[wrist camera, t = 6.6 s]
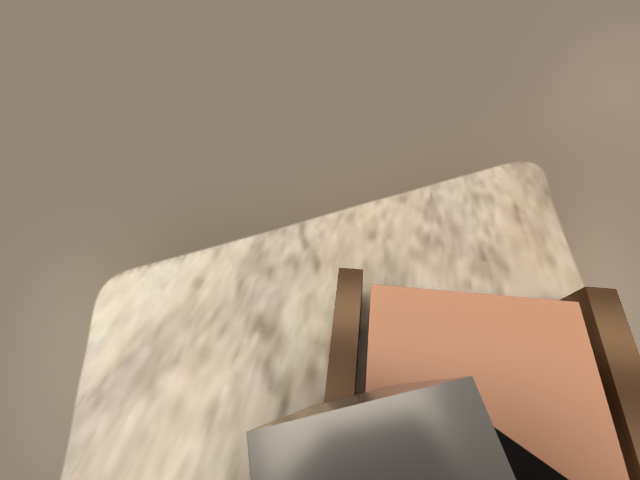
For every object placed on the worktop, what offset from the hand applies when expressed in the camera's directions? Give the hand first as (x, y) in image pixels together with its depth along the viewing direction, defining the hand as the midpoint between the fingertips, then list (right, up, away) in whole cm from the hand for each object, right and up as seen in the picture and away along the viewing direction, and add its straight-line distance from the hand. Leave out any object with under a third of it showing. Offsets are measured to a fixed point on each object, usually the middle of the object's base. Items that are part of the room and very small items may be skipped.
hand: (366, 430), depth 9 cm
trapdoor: (+8, -4, +11) cm, 14 cm away
